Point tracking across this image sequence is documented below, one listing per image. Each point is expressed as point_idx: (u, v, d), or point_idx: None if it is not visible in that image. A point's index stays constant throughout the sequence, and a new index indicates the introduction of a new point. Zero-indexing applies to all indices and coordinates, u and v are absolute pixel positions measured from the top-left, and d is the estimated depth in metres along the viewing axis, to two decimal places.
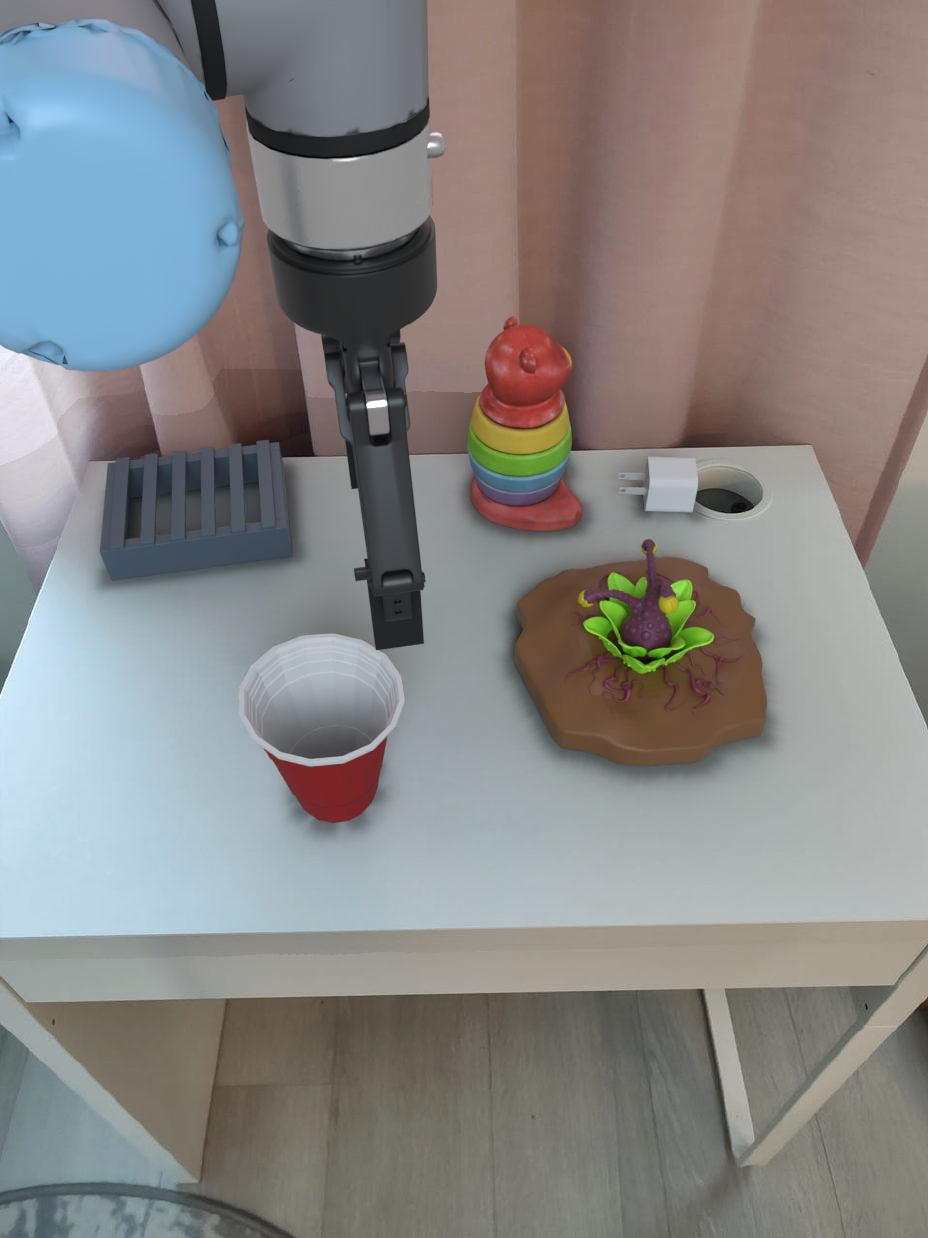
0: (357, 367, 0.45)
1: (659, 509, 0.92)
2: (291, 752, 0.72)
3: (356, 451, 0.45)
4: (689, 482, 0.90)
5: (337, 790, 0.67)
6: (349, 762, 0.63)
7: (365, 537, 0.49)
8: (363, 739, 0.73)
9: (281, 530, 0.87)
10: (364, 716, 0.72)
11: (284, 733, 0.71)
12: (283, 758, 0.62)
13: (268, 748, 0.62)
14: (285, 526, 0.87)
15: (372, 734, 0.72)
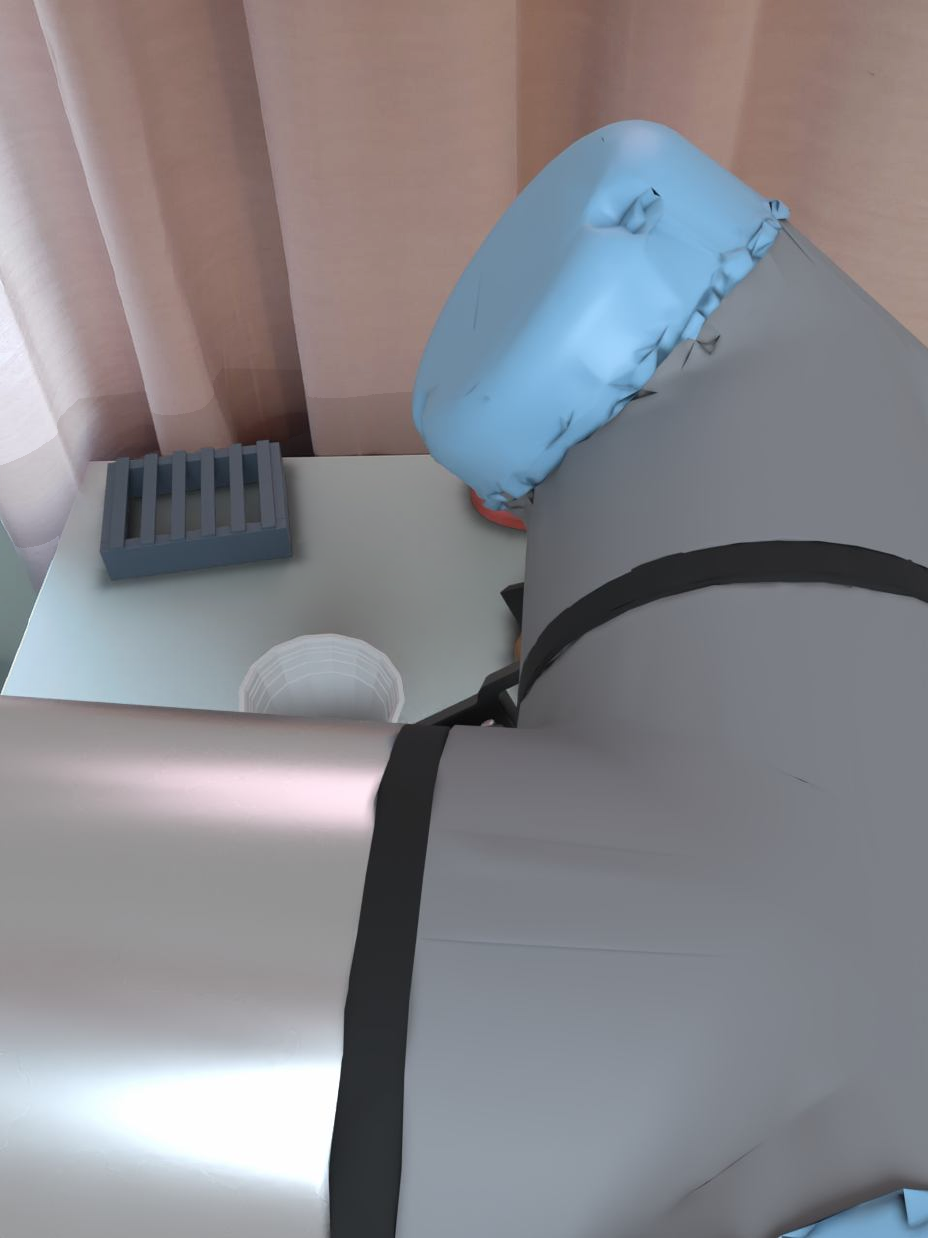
0: None
1: None
2: None
3: None
4: None
5: None
6: None
7: None
8: None
9: (281, 530, 0.87)
10: (364, 716, 0.72)
11: None
12: None
13: None
14: (285, 526, 0.87)
15: None
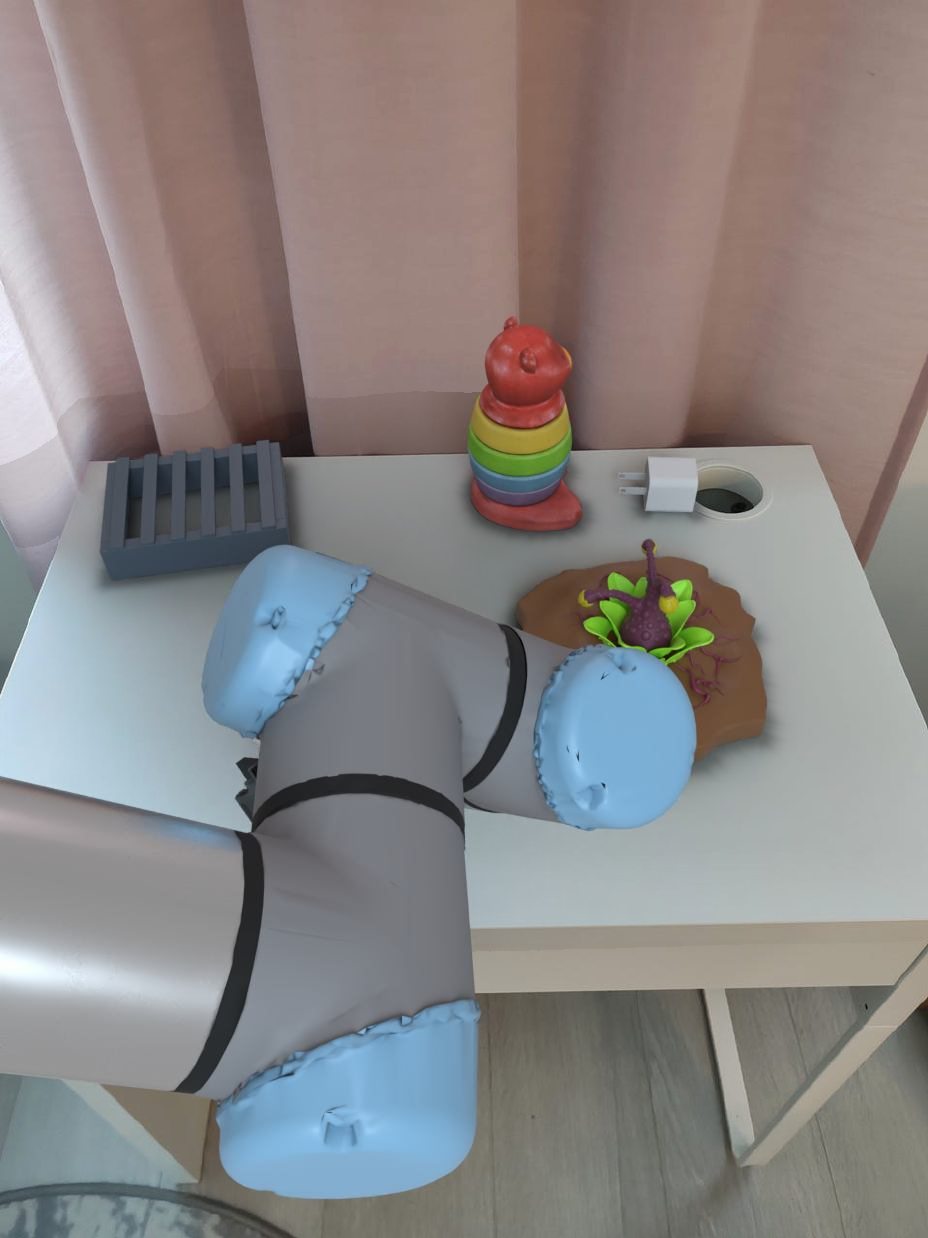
0: None
1: (659, 509, 0.92)
2: None
3: None
4: (689, 482, 0.90)
5: None
6: None
7: None
8: None
9: (281, 530, 0.87)
10: None
11: None
12: None
13: None
14: (285, 526, 0.87)
15: None
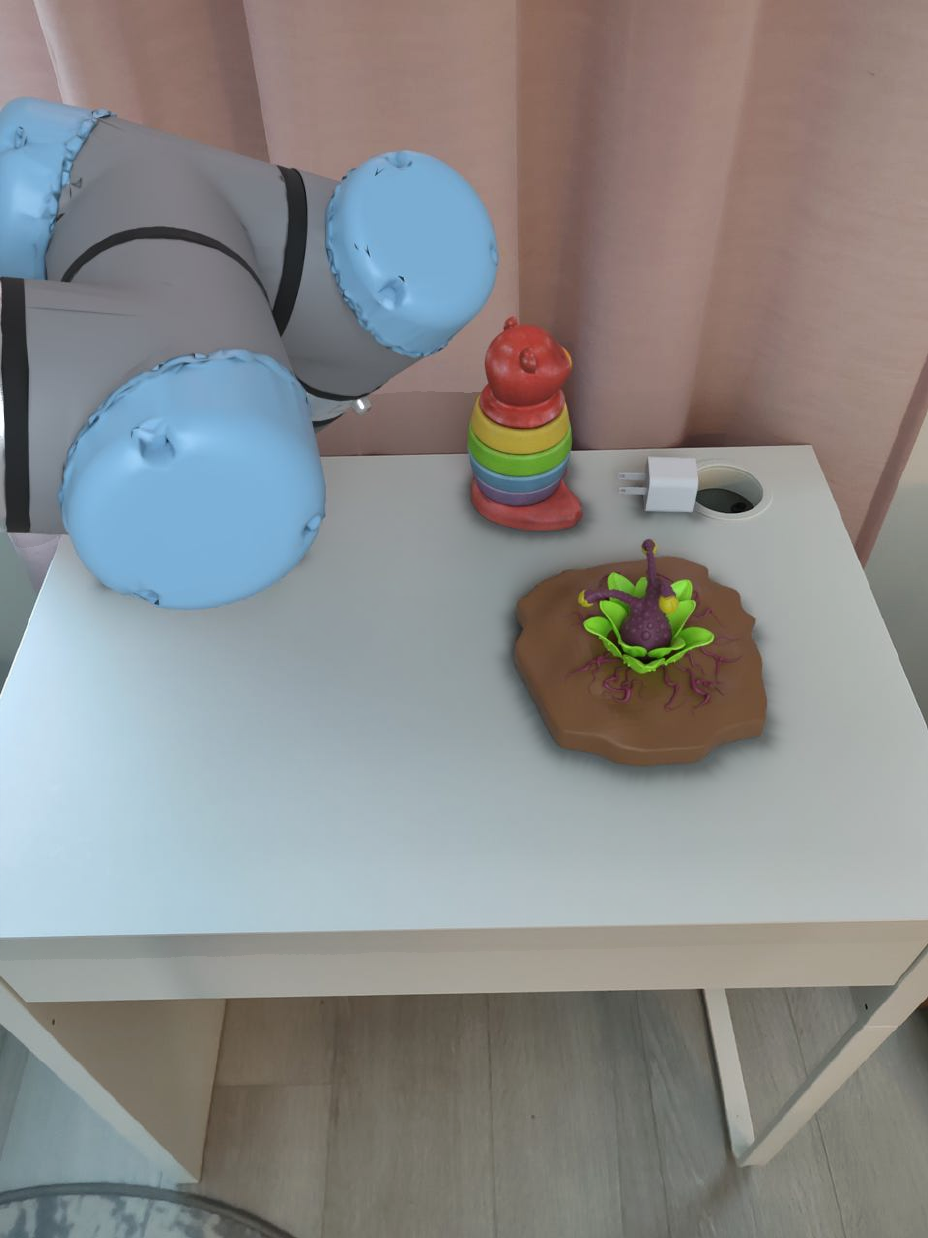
0: None
1: (659, 509, 0.92)
2: None
3: None
4: (689, 482, 0.90)
5: None
6: None
7: None
8: None
9: None
10: None
11: None
12: None
13: None
14: None
15: None
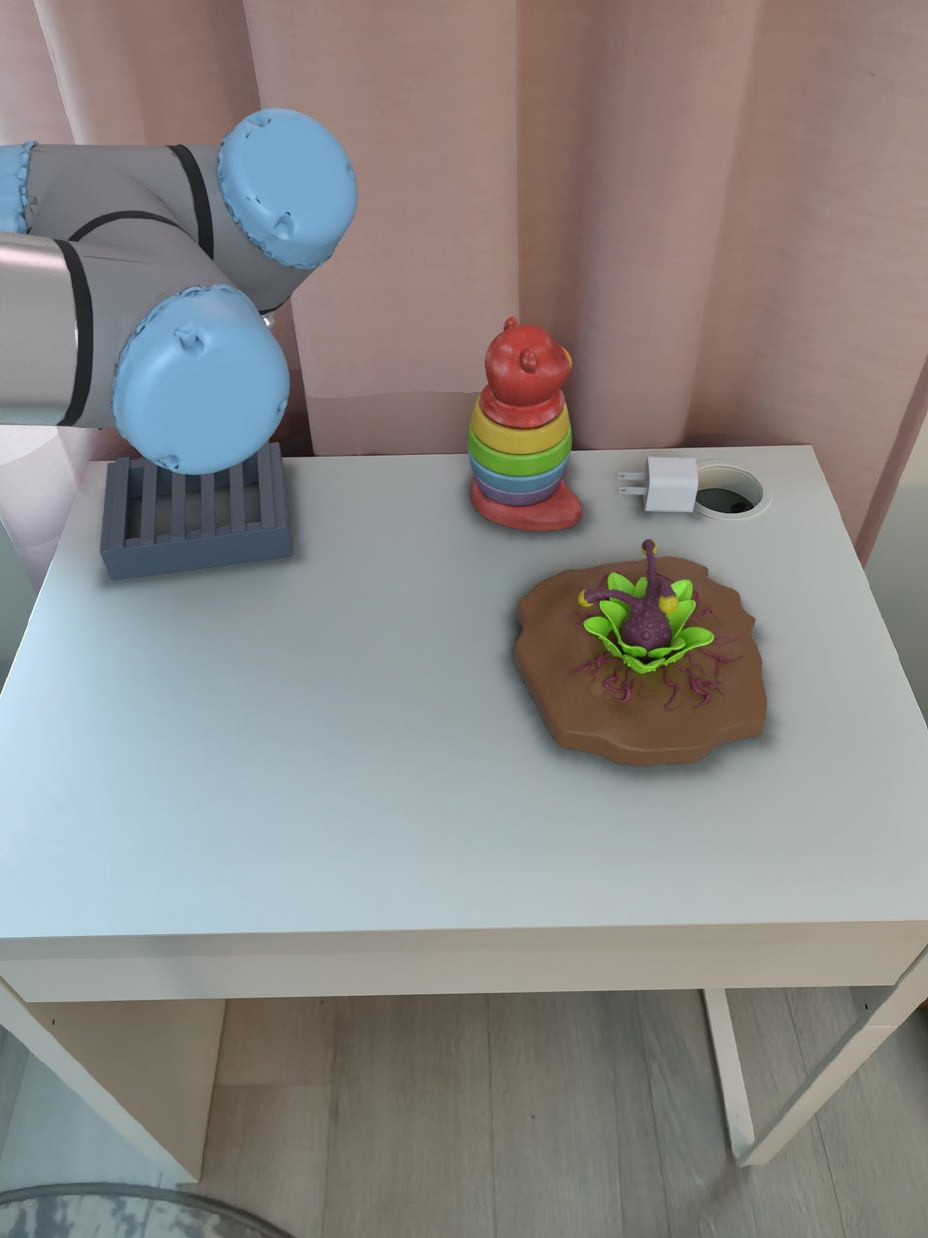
0: None
1: (659, 509, 0.92)
2: None
3: None
4: (689, 482, 0.90)
5: None
6: None
7: None
8: None
9: (281, 530, 0.87)
10: None
11: None
12: None
13: None
14: (285, 526, 0.87)
15: None
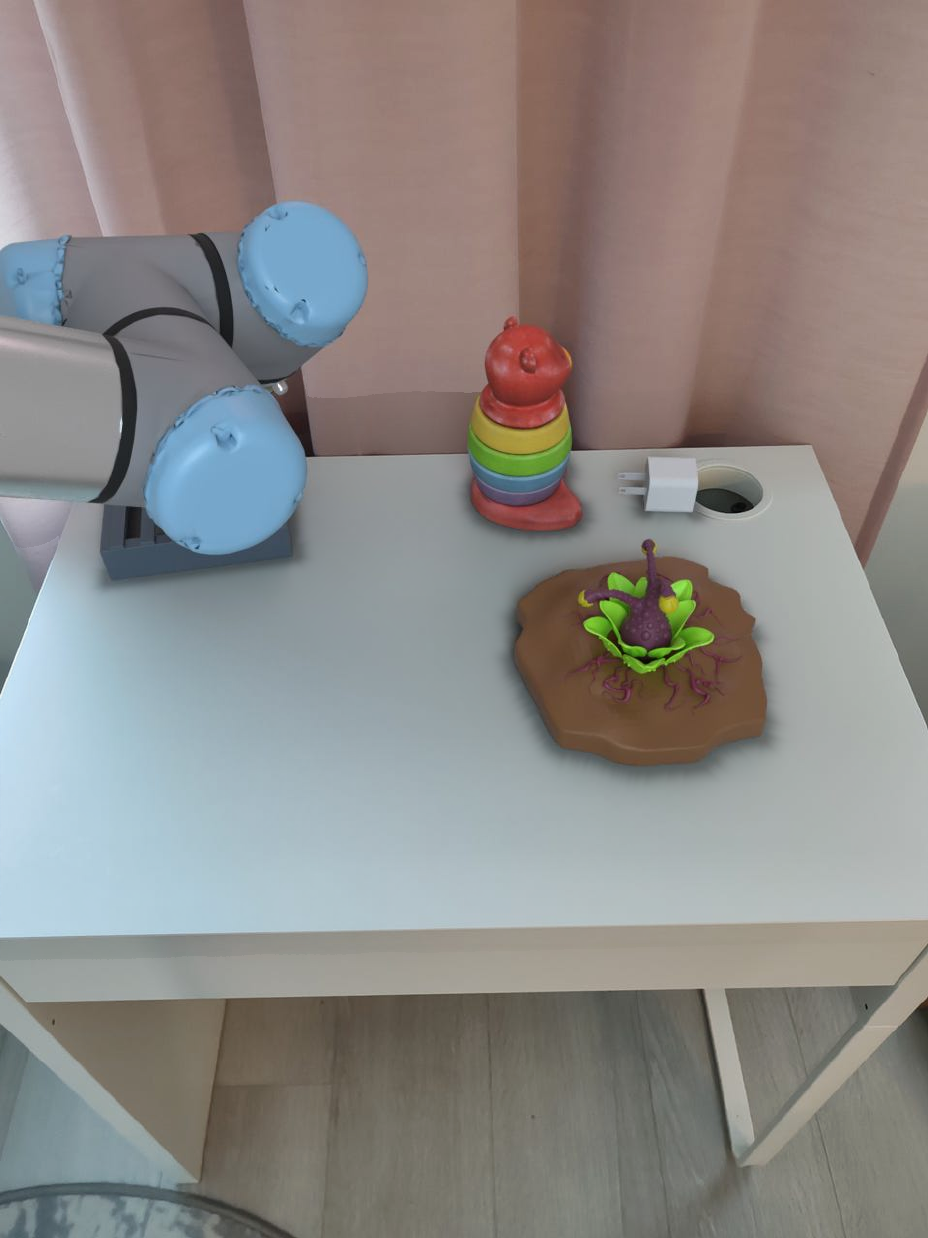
0: None
1: (659, 509, 0.92)
2: None
3: None
4: (689, 482, 0.90)
5: None
6: None
7: None
8: None
9: (281, 530, 0.87)
10: None
11: None
12: None
13: None
14: (285, 526, 0.87)
15: None
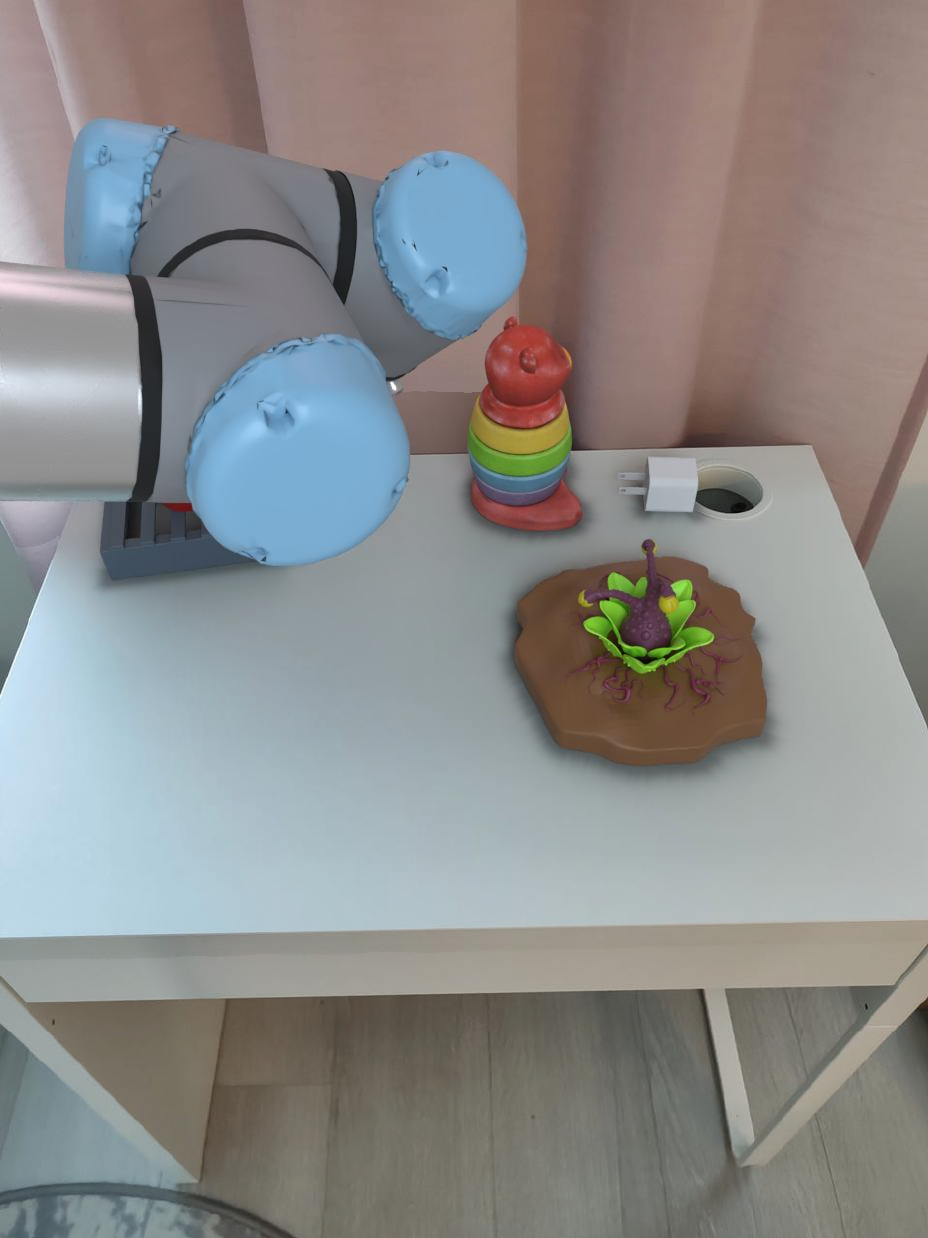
0: None
1: (659, 509, 0.92)
2: None
3: None
4: (689, 482, 0.90)
5: None
6: None
7: None
8: None
9: None
10: None
11: None
12: None
13: None
14: None
15: None
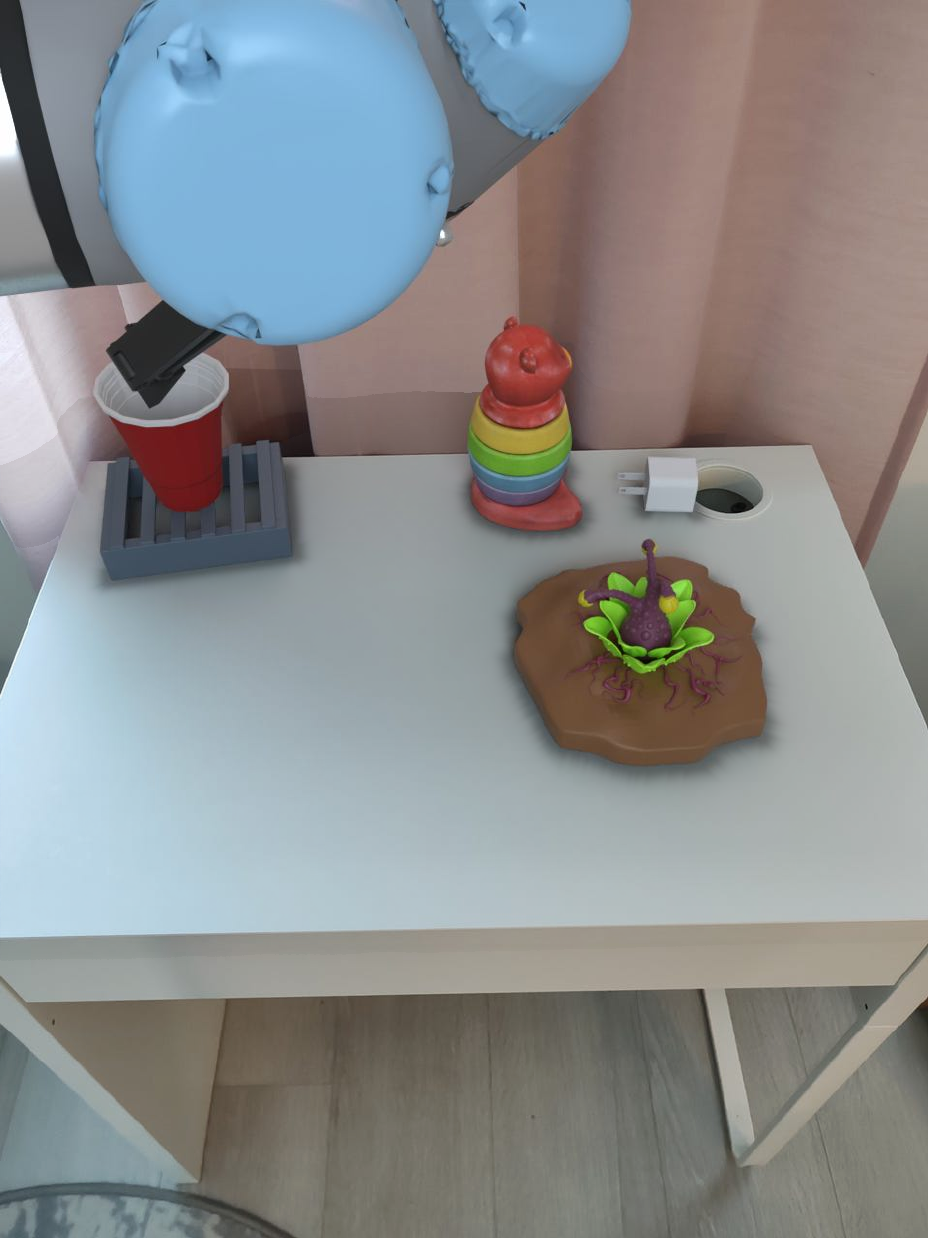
0: None
1: (659, 509, 0.92)
2: None
3: None
4: (689, 482, 0.90)
5: (177, 466, 0.83)
6: (180, 430, 0.79)
7: None
8: None
9: (281, 530, 0.87)
10: None
11: None
12: (124, 420, 0.78)
13: (113, 413, 0.78)
14: (285, 526, 0.87)
15: None
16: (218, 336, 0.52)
